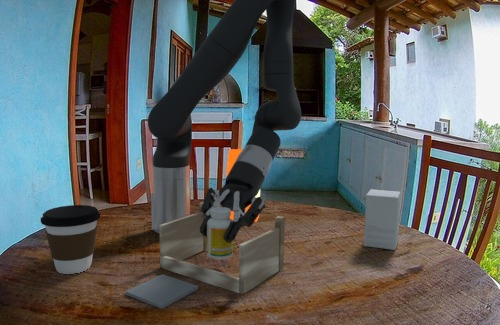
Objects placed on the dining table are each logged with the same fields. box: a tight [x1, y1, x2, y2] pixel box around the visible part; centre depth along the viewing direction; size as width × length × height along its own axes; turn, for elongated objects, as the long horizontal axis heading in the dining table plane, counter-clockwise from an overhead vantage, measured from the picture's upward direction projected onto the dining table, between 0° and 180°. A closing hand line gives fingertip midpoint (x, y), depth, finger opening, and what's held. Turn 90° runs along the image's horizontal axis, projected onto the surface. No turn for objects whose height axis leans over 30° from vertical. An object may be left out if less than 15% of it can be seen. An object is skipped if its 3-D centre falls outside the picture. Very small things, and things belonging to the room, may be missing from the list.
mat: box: [124, 273, 199, 310], centre depth 76 cm, size 9×9×1 cm
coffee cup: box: [40, 204, 101, 275], centre depth 85 cm, size 11×11×12 cm
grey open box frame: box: [159, 201, 286, 295], centre depth 86 cm, size 21×14×11 cm, turn 56°
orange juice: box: [226, 148, 261, 223], centre depth 123 cm, size 8×9×20 cm
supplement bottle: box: [206, 206, 234, 260], centre depth 86 cm, size 5×5×10 cm
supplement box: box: [363, 188, 401, 251], centre depth 102 cm, size 7×7×13 cm
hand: (214, 237), depth 84 cm, fingers closed on supplement bottle, 5 cm apart
